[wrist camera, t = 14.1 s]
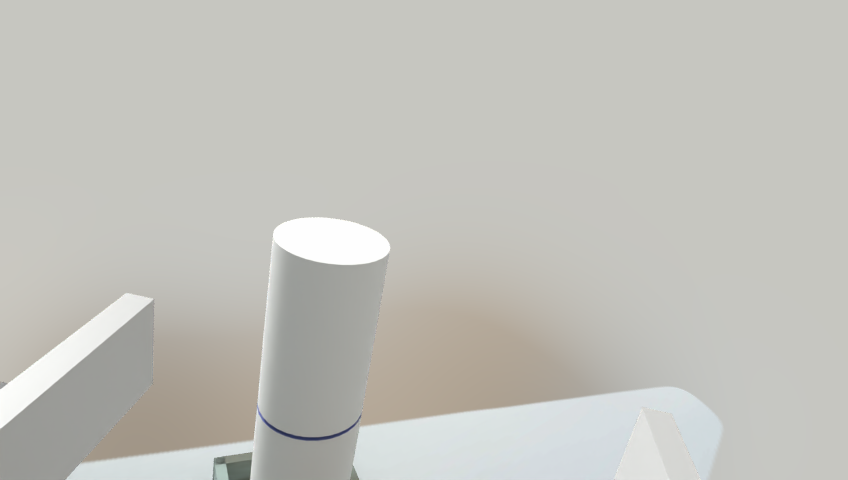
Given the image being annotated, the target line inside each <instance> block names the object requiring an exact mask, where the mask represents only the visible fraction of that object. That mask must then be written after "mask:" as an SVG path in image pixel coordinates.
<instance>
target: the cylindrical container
mask: <svg viewBox="0 0 848 480" xmlns="http://www.w3.org/2000/svg"><path fill="white" fill-rule="evenodd" d="M389 252H390V245H389V242H388V241H387V240H386V238H385V237H383V236H382V235H381V234H380V233H378V232H376V231H374V230H372V229H371V228H368V227H366V226H363V225H360V224H357V223H353V222H349V221H344V220H338V219H332V218H301V219H295V220H291V221H288V222H285V223H282V224H281V225H279V226H278V227H277V228H276V229H275V230H274V232H273V242H272V253H271V263H270V273H269V284H268V295H267V304H266V315H265V326H264V337H263V348H262V359H261V371H260V381H259V393H258V403H257V414H256V424H255V434H254V444H253V454H252V465H251V475H250V480H350V477H351V472H352V466H353V460H354V454H355V449H356V443H357V437H358V431H359V426H360V420H361V414H362V409H363V403H364V397H365V391H366V385H367V380H368V374H369V368H370V362H371V356H372V350H373V345H374V339H375V332H376V327H377V322H378V316H379V309H380V304H381V298H382V292H383V286H384V281H385V275H386V269H387V263H388V258H389Z"/></svg>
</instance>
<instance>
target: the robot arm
mask: <svg viewBox="0 0 848 480" xmlns="http://www.w3.org/2000/svg"><path fill="white" fill-rule="evenodd" d="M153 330H154V299H152V298H147V297H143V296H139V295H134V294H129V293H126V294H125V295H123V296H122V297H120V298H119V299H118V300H117V301H115V302H114V303H113V304H111V305H110V306H109V307H108V308H106V309H105V310H104V311H102V312H101V313H100V314H98V315H97V316H96V317H94V318H93V319H92V320H90V321H89V322H88V323H87V324H85V325H84V326H83V327H81V328H80V329H79V330H77V331H76V332H75V333H74V334H72V335H71V336H70V337H68V338H67V339H66V340H64V341H63V342H62V343H60V344H59V345H58V346H57V347H55V348H54V349H53V350H51V351H50V352H49V353H47V354H46V355H45V356H43V357H42V358H41V359H40V360H38V361H37V362H36V363H34V364H33V365H32V366H30V367H29V368H28V369H27V370H25V371H24V372H23V373H21V374H20V375H19V376H17V377H16V378H15V379H14V380H12V381H11V382H10V383H4V382H0V480H65V479H66V478H67V477H68V476H69V475H70V474H71V473H72V472H73V471H74V469H75V468H76V467H77V466H78V465H79V464H80V463H81V462H82V461H83V459H84V458H85V457H86V456H87V455H88V454H89V453H90V452H91V451H92V450H93V449H94V448H95V446H96V445H97V444H98V443H99V442H100V441H101V440H102V439H103V438H104V437H105V435H106V434H107V433H108V432H109V431H110V430H111V429H112V428H113V426H115V425H116V424H117V422H118V421H119V420H120V419H121V418H122V417H123V416H124V415H125V414H126V413H127V412H128V410H129V409H130V408H131V407H132V406H133V405H134V404H135V403H136V402H137V401H138V400H139V398H140V397H141V396H142V395H143V394H144V393H145V392H146V391H147V390H148V389H149V388H150V386H151V385H152V384H153V337H154V336H153V335H154V334H153V333H154V331H153ZM614 480H701V479H700V477H699V475H698V472H697V470H696V468H695V466H694V463H693V461H692V459H691V457H690V454H689V452H688V450H687V447H686V445H685V443H684V441H683V438H682V436H681V434H680V432H679V429H678V427H677V425H676V423H675V420H674V418H673V416H672V414H671V413H667V412H662V411H658V410H653V409H649V408H644V407H642V409H641V411H640V414H639V416H638V419H637V421H636V424H635V427H634V429H633V432H632V434H631V437H630V439H629V442H628V444H627V447H626V449H625V452H624V455H623V457H622V460H621V462H620V465H619V467H618V470H617V472H616V475H615V477H614Z"/></svg>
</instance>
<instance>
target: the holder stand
mask: <svg viewBox="0 0 848 480" xmlns="http://www.w3.org/2000/svg"><path fill="white" fill-rule="evenodd" d="M252 454H253V452H251V453H244V454H238V455H231V456H224V457H217V458H214V468H213V480H250V475H251V465H252ZM350 480H359V478H358V476H357V473H356V471H355V469H354V466H352V472H351V477H350Z"/></svg>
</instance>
